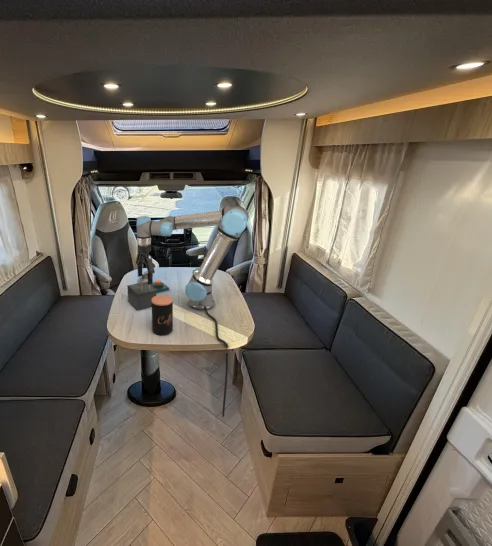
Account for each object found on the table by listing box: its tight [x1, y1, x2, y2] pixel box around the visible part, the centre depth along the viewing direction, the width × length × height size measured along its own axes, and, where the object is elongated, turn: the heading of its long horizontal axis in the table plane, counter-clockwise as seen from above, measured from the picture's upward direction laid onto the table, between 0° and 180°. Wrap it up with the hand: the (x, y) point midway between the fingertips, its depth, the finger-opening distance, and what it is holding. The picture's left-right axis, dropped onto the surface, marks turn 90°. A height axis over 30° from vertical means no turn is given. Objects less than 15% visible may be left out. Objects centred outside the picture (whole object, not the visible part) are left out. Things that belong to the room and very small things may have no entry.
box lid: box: [126, 279, 157, 296], centre depth 185 cm, size 16×13×8 cm
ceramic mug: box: [137, 270, 148, 283], centre depth 222 cm, size 11×8×8 cm
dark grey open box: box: [126, 286, 158, 311], centre depth 188 cm, size 15×13×10 cm
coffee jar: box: [151, 294, 174, 337], centre depth 157 cm, size 11×11×18 cm
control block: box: [150, 281, 170, 294], centre depth 210 cm, size 12×10×4 cm
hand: (145, 280), depth 179 cm, fingers open, 13 cm apart
